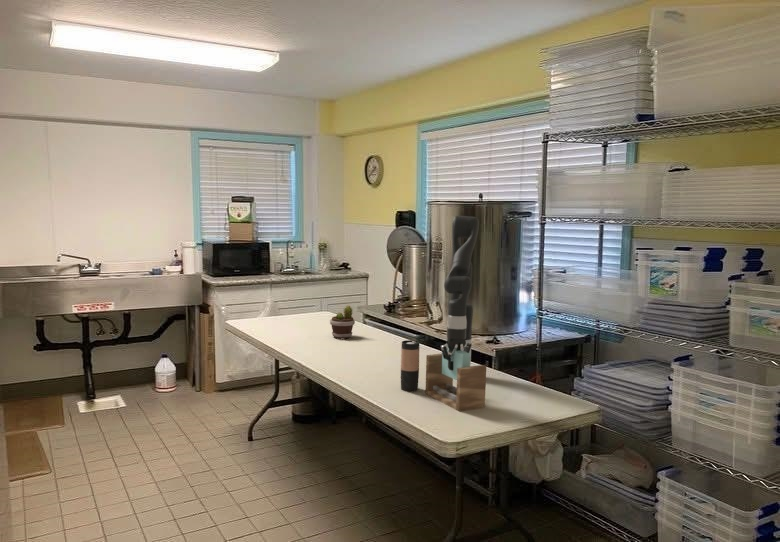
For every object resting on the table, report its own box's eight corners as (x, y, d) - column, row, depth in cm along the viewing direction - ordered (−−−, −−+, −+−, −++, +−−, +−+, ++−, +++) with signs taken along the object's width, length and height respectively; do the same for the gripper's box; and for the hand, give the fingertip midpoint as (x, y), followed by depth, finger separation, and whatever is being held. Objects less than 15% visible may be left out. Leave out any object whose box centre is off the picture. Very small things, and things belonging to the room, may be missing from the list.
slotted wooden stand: (425, 393, 241) (426, 355, 240) (449, 389, 247) (451, 352, 246) (459, 411, 220) (460, 369, 219) (484, 406, 226) (486, 366, 225)
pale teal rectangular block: (441, 373, 238) (442, 346, 237) (448, 372, 240) (449, 346, 239) (461, 382, 226) (462, 354, 225) (469, 381, 228) (470, 353, 227)
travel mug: (403, 392, 242) (404, 344, 240) (397, 386, 250) (399, 340, 248) (420, 391, 245) (422, 343, 243) (415, 385, 252) (416, 339, 250)
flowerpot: (328, 339, 339) (328, 305, 337) (331, 334, 354) (332, 301, 352) (353, 340, 338) (353, 306, 336) (355, 335, 354) (356, 302, 352)
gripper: (465, 323, 238) (464, 365, 239) (436, 326, 231) (435, 369, 233) (477, 326, 231) (475, 369, 233) (447, 329, 224) (445, 373, 226)
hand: (455, 369), depth 233 cm, fingers closed on pale teal rectangular block, 3 cm apart
